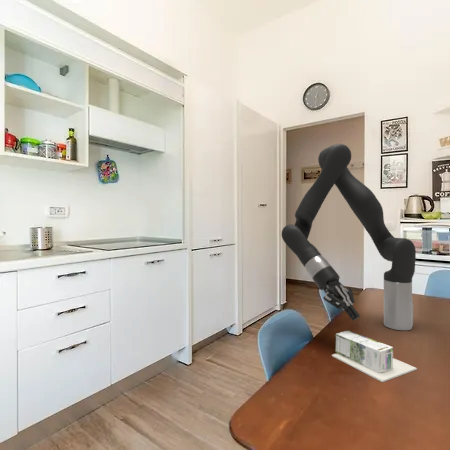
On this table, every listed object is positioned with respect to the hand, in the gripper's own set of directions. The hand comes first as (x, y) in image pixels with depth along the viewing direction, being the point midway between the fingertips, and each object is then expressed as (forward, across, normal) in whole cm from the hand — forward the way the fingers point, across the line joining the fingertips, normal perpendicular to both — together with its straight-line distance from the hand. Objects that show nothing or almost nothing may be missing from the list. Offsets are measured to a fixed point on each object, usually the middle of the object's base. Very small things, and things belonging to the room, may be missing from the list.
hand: (356, 318), depth 88 cm
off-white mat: (+11, -2, +3) cm, 12 cm away
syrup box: (+2, -3, +8) cm, 8 cm away
